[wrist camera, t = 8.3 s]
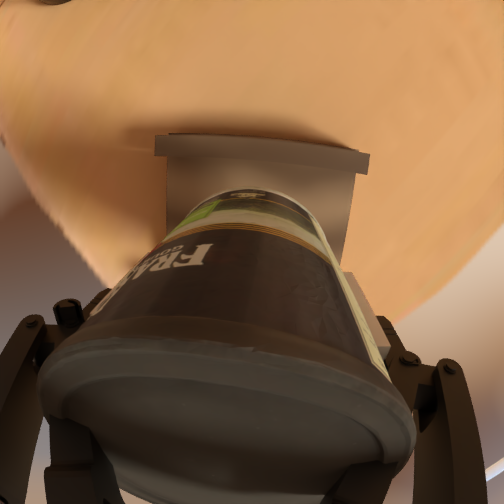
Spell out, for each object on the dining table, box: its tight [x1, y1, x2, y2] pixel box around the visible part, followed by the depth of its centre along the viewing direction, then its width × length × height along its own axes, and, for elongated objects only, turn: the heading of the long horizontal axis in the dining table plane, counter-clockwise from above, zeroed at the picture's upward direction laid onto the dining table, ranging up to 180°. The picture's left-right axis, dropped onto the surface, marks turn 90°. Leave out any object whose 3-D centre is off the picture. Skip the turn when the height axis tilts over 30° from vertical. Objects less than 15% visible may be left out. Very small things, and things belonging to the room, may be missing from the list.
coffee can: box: [36, 186, 417, 504], centre depth 12 cm, size 10×10×14 cm
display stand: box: [155, 133, 370, 266], centre depth 25 cm, size 16×16×5 cm
